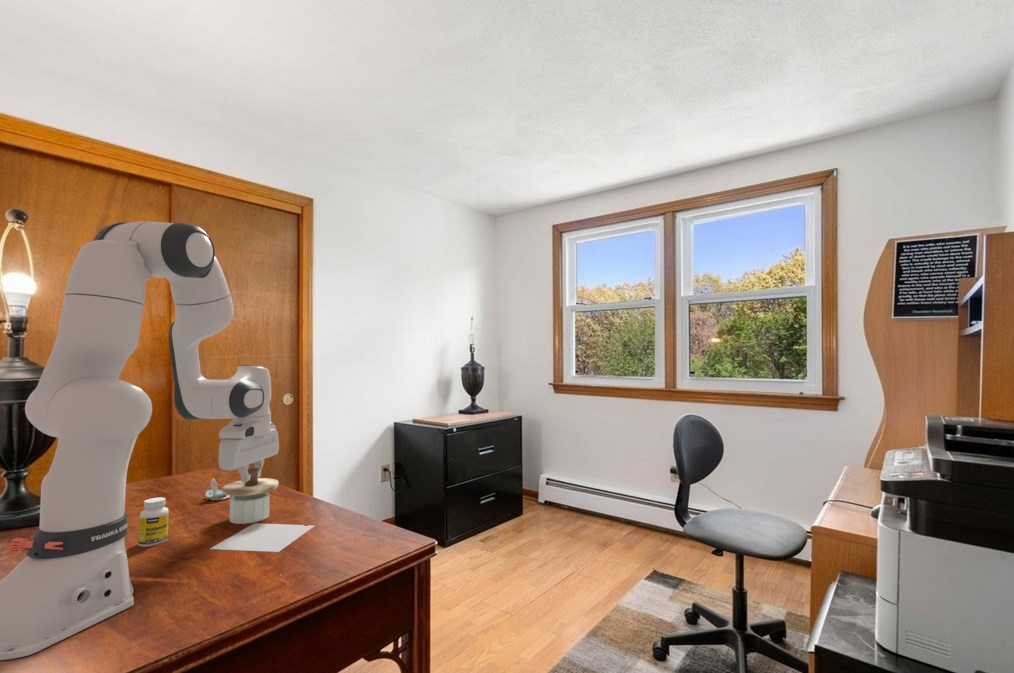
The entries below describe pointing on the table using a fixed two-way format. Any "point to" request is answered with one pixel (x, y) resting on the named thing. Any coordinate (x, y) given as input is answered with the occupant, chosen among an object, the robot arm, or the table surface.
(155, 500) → the supplement bottle
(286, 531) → the mat
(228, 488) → the lid
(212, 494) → the pacifier
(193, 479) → the table surface
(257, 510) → the bowl
